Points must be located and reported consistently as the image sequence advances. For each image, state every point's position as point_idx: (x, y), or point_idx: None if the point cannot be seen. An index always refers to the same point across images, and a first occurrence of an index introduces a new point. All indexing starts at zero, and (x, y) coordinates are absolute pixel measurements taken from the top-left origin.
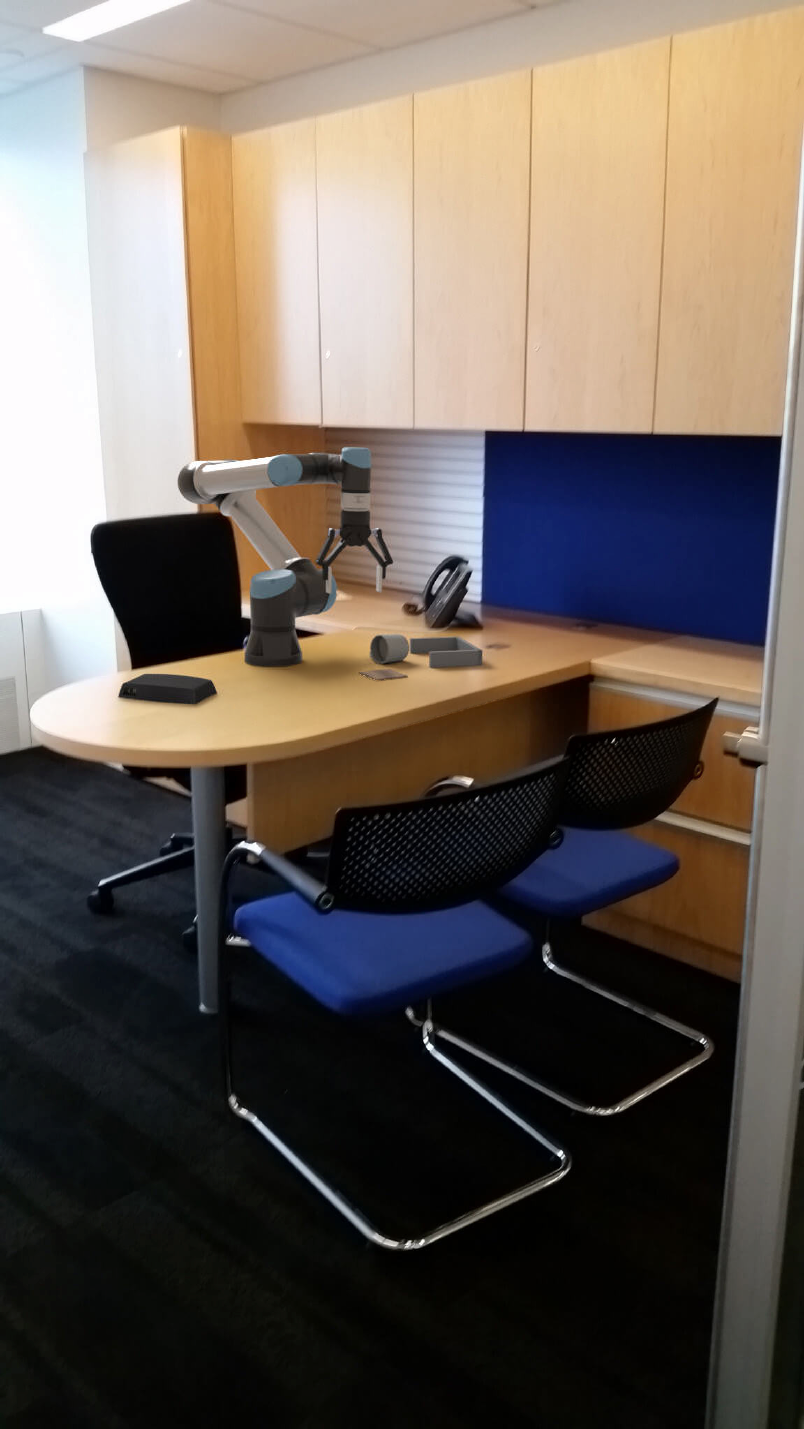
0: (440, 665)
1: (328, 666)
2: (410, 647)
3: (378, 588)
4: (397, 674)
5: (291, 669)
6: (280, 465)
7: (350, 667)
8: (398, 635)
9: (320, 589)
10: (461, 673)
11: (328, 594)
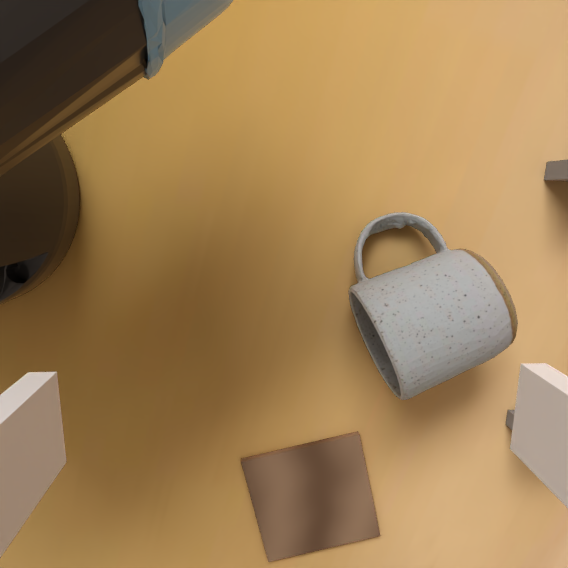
0: None
1: (164, 332)
2: (560, 171)
3: (531, 447)
4: (355, 516)
5: (17, 351)
6: None
7: (239, 364)
8: (487, 341)
9: (21, 97)
10: (561, 514)
11: (141, 57)
